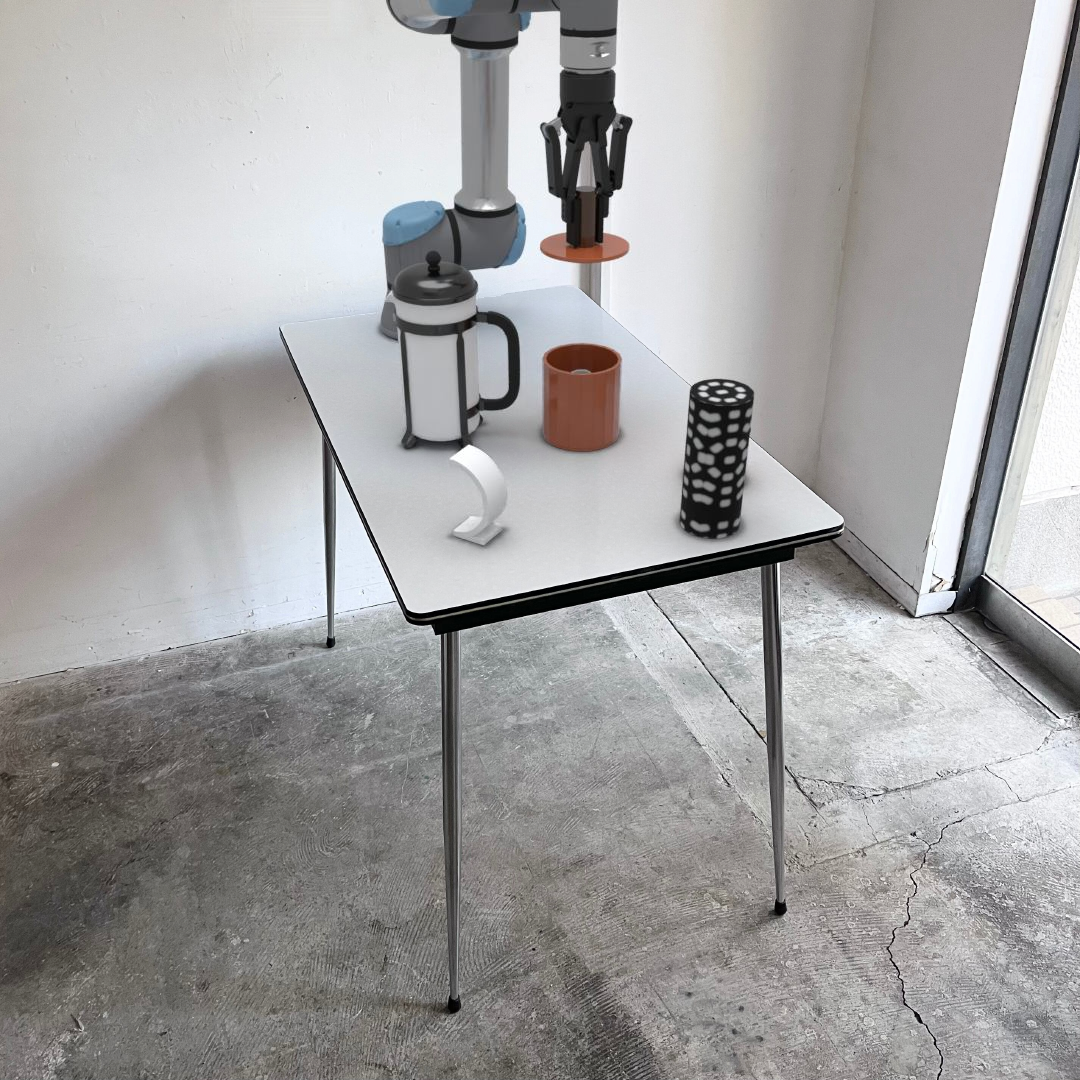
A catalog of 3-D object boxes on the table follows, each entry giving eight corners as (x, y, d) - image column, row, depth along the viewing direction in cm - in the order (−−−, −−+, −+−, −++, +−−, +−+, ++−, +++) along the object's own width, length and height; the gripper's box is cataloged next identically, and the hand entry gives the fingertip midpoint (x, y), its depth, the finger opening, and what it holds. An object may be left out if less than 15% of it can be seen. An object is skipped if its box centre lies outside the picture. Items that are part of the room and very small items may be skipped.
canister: (530, 425, 178) (529, 351, 171) (596, 411, 182) (598, 338, 175) (563, 457, 168) (564, 380, 161) (632, 441, 173) (636, 366, 166)
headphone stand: (471, 520, 153) (468, 444, 146) (508, 532, 150) (506, 455, 144) (453, 535, 150) (449, 458, 143) (490, 547, 147) (487, 469, 140)
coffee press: (427, 468, 165) (415, 277, 149) (380, 428, 177) (364, 246, 160) (523, 439, 173) (521, 254, 157) (472, 403, 185) (465, 226, 168)
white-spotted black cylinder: (693, 542, 148) (705, 409, 137) (670, 512, 154) (680, 383, 144) (749, 533, 150) (765, 401, 139) (724, 503, 156) (737, 375, 146)
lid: (525, 246, 162) (525, 183, 157) (603, 234, 166) (604, 173, 161) (564, 272, 152) (564, 205, 147) (645, 259, 156) (648, 194, 151)
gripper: (544, 78, 140) (544, 257, 152) (654, 68, 145) (646, 242, 158) (520, 69, 145) (522, 242, 158) (627, 59, 151) (621, 228, 164)
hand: (584, 242), depth 158 cm, fingers closed on lid, 3 cm apart
